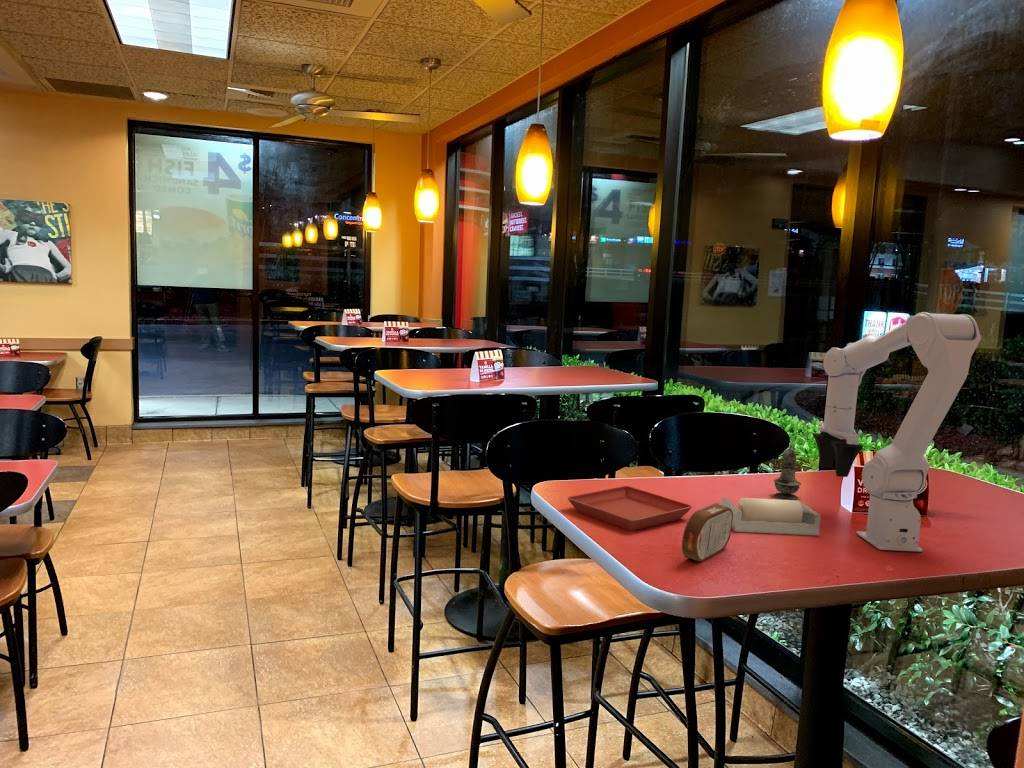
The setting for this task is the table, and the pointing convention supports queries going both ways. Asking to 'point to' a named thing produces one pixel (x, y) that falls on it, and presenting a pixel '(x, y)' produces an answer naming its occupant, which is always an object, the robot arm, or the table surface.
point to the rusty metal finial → (787, 477)
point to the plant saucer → (629, 507)
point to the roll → (771, 510)
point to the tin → (707, 532)
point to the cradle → (804, 528)
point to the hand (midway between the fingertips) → (833, 471)
